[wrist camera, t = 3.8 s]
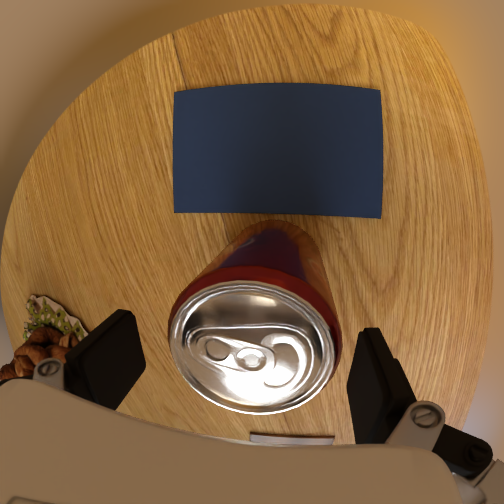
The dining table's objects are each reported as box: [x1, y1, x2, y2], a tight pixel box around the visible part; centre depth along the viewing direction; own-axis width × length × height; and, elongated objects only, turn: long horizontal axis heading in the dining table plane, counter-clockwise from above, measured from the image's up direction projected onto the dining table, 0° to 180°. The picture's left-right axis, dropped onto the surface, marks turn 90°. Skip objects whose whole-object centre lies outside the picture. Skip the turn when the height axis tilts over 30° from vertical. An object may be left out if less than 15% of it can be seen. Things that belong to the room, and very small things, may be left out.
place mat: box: [173, 83, 383, 219], centre depth 19 cm, size 16×10×1 cm, turn 90°
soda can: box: [168, 220, 343, 414], centre depth 16 cm, size 7×7×12 cm
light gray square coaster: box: [250, 432, 335, 445], centre depth 28 cm, size 10×10×1 cm
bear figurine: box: [0, 295, 88, 380], centre depth 23 cm, size 14×15×12 cm
